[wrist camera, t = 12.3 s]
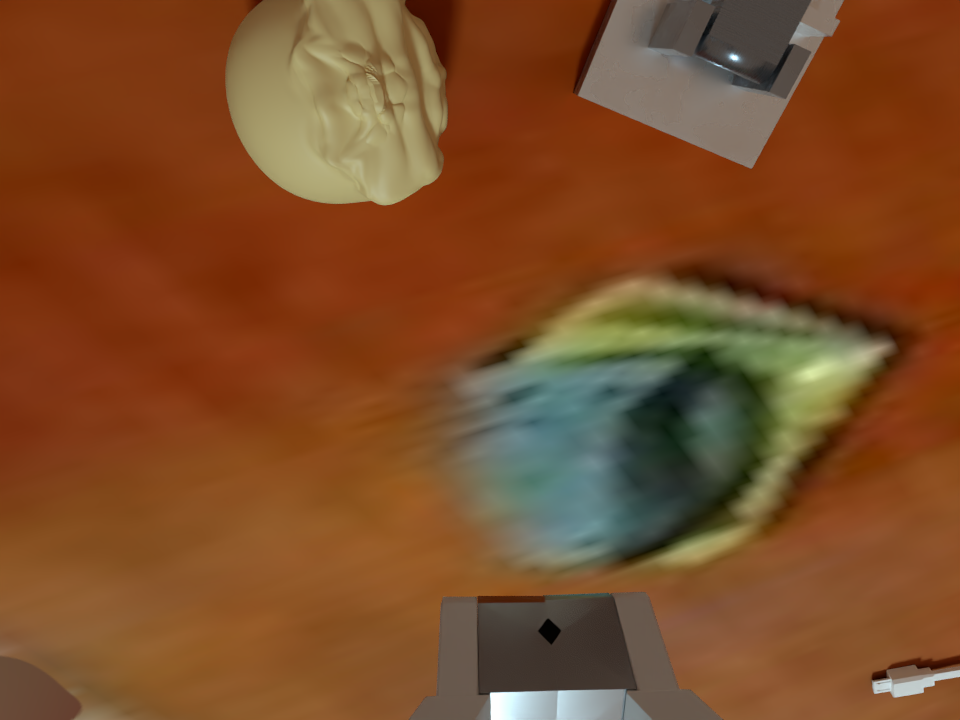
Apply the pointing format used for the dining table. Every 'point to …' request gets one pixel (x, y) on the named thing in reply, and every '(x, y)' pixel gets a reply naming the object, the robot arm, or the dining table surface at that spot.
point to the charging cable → (911, 680)
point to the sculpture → (339, 98)
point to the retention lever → (750, 35)
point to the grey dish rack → (693, 75)
